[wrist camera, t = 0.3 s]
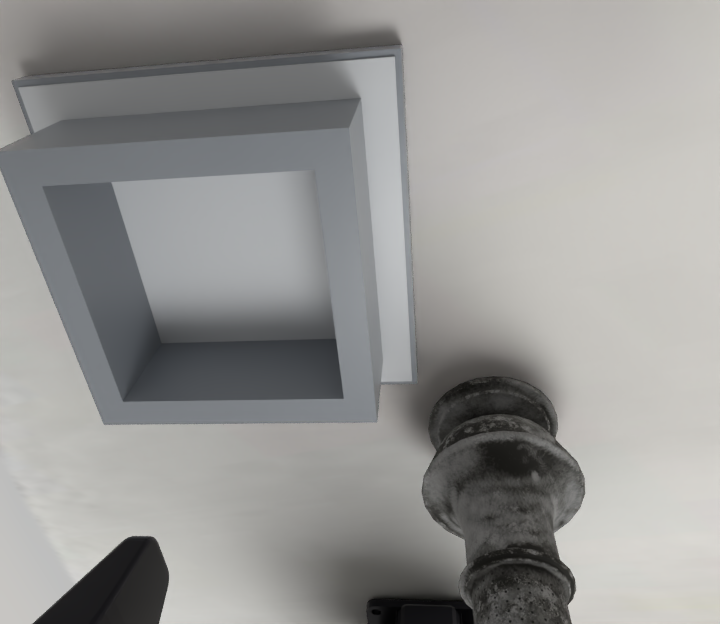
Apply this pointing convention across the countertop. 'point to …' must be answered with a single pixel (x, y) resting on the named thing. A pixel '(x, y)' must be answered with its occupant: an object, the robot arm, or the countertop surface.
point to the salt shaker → (504, 498)
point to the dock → (225, 233)
